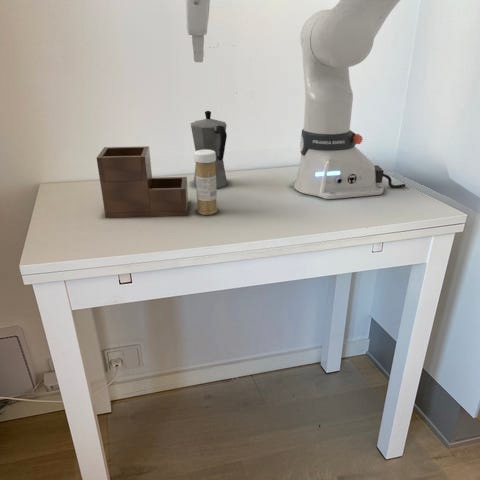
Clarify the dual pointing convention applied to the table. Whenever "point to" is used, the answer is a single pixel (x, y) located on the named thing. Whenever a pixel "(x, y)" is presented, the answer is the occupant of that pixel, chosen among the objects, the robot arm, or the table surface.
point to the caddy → (138, 185)
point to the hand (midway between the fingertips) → (199, 60)
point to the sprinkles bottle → (206, 181)
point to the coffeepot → (211, 143)
